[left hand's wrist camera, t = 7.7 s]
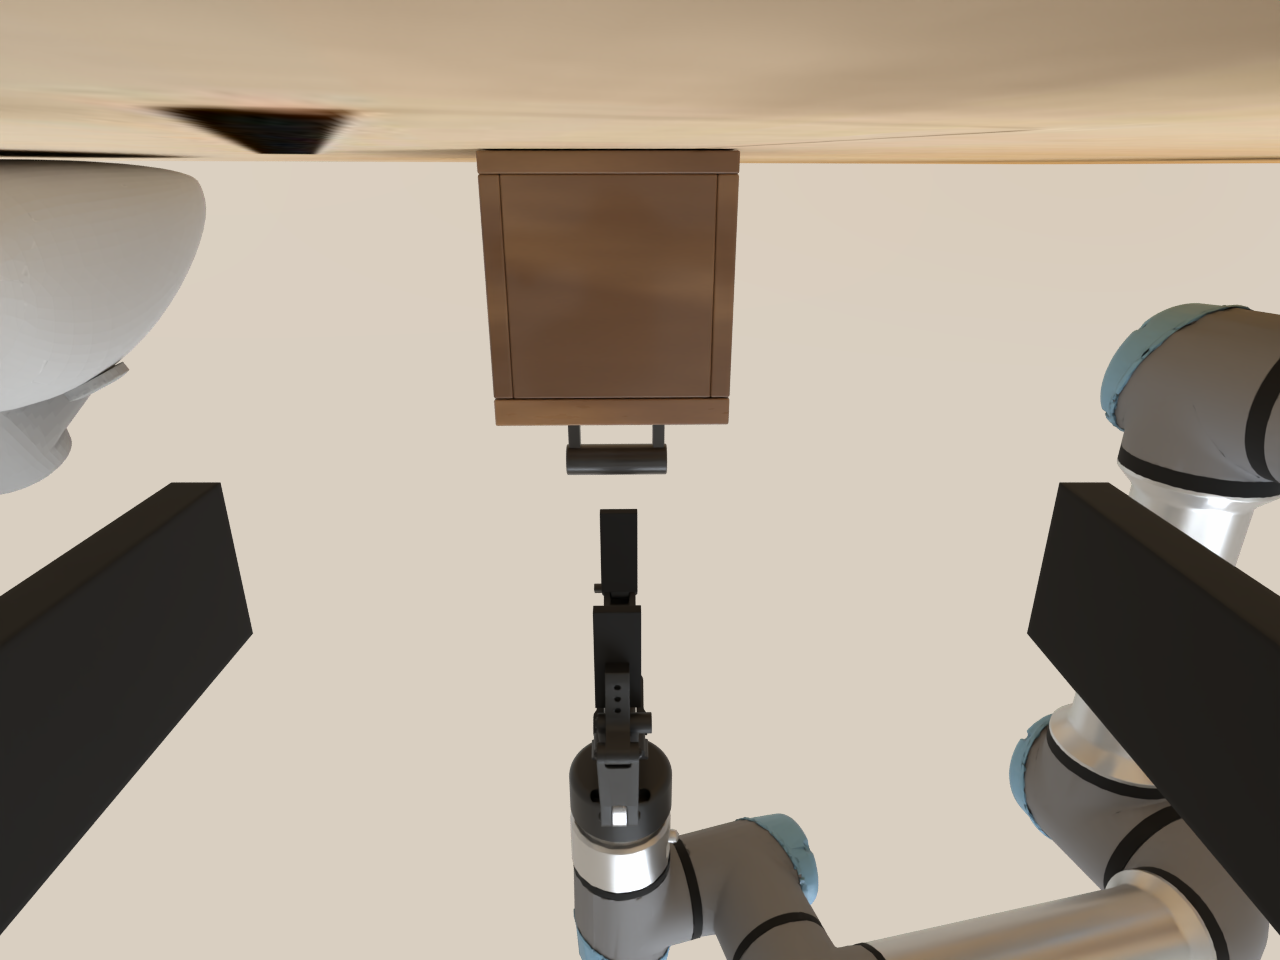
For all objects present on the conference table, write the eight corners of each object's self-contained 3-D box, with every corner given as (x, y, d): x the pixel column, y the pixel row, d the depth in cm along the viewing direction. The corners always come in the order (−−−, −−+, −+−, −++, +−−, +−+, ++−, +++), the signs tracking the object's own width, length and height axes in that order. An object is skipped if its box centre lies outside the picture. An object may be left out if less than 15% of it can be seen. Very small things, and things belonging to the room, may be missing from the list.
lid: (696, 327, 48) (693, 456, 51) (534, 327, 48) (541, 458, 51) (729, 398, 33) (721, 576, 36) (493, 400, 33) (506, 578, 36)
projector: (-357, 159, 36) (-228, 454, 42) (-560, 150, 20) (-308, 630, 26) (173, 162, 50) (219, 384, 55) (301, 158, 34) (348, 471, 39)
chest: (701, 156, 44) (697, 327, 47) (525, 157, 44) (533, 328, 47) (740, 150, 29) (729, 397, 33) (475, 150, 29) (493, 398, 33)
